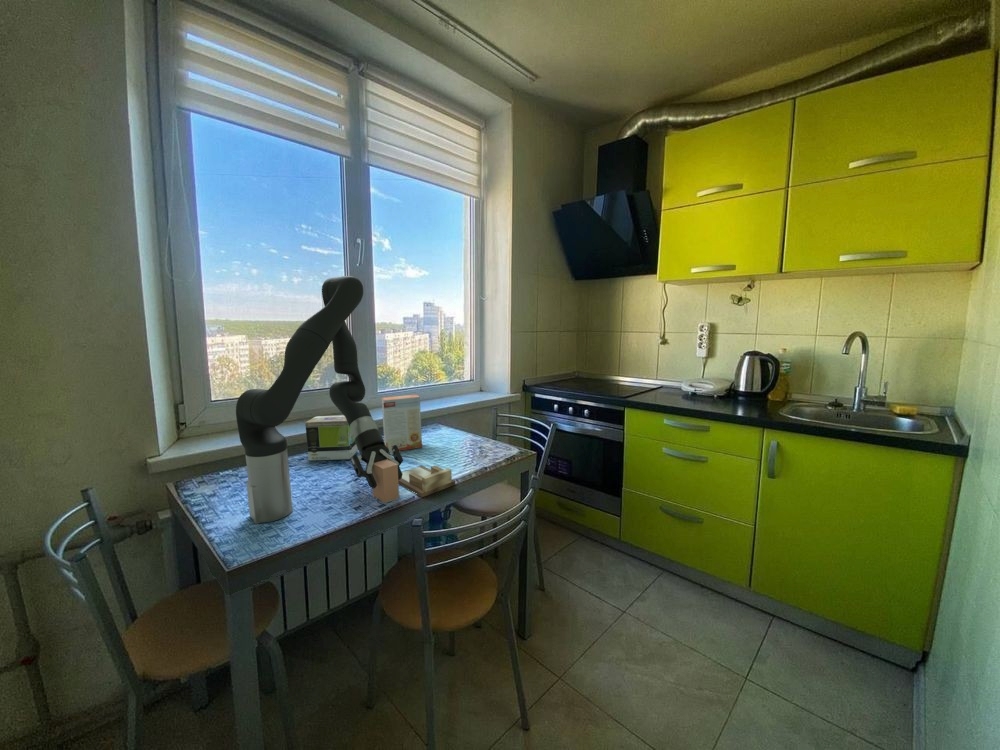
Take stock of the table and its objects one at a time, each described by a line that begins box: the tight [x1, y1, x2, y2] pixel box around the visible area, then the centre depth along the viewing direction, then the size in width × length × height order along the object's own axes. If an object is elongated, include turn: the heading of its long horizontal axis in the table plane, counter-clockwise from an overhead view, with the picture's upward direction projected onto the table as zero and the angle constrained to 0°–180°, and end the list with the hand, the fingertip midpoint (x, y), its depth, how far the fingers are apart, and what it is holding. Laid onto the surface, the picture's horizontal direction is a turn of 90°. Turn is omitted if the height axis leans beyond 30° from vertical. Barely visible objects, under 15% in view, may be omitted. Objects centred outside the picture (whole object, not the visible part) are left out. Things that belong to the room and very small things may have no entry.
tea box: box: [304, 414, 358, 461], centre depth 143 cm, size 15×10×15 cm
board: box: [398, 465, 456, 498], centre depth 120 cm, size 12×18×5 cm, turn 45°
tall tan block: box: [371, 459, 400, 504], centre depth 110 cm, size 4×7×10 cm, turn 45°
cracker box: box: [381, 394, 423, 452], centre depth 151 cm, size 14×6×21 cm, turn 114°
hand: (387, 482), depth 109 cm, fingers open, 7 cm apart
